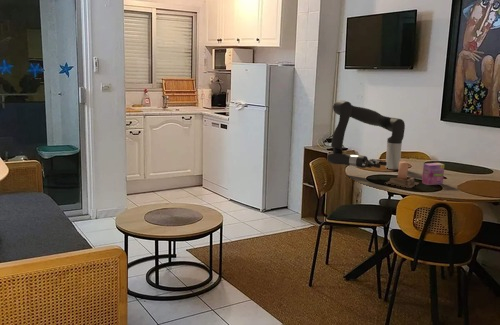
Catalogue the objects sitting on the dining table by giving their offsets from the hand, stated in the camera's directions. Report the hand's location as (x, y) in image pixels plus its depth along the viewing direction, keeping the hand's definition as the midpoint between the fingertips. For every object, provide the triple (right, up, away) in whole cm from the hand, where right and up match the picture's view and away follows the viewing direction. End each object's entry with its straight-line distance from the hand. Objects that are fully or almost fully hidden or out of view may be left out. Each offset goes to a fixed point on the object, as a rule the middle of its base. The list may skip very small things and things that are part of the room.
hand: (383, 164), depth 293 cm
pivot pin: (+9, -10, -6) cm, 15 cm away
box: (+28, -11, -4) cm, 30 cm away
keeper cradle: (+9, -11, -6) cm, 15 cm away
